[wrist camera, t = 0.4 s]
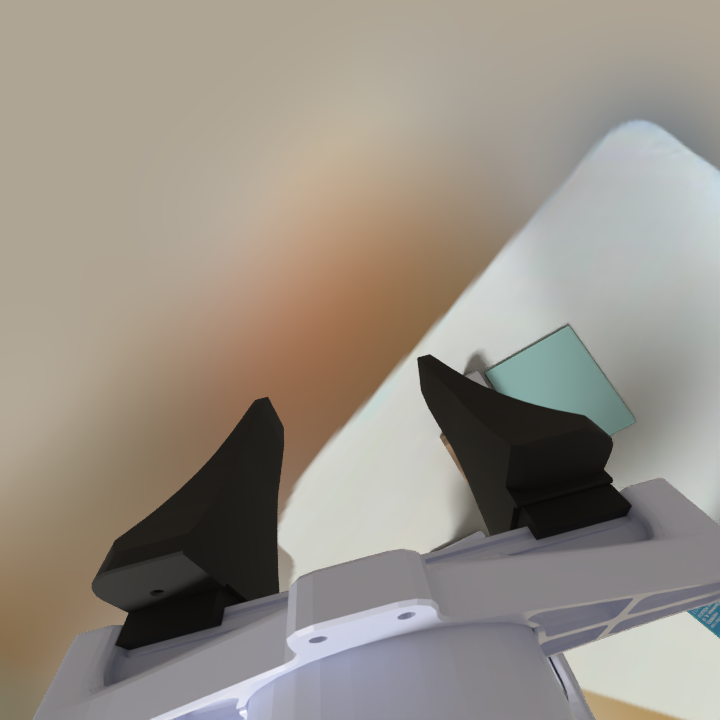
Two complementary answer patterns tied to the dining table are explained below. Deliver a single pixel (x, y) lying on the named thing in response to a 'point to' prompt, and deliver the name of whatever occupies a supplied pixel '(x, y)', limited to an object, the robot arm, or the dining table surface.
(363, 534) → the dining table surface
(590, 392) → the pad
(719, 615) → the milk carton
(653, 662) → the dining table surface
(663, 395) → the dining table surface
